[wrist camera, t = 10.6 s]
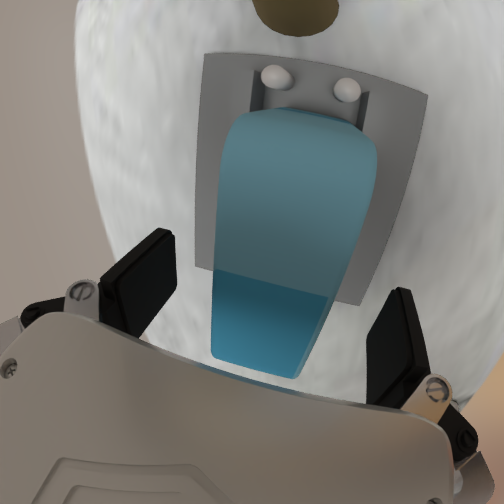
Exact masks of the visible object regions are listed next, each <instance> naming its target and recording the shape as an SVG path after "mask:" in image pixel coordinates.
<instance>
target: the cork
mask: <svg viewBox="0 0 504 504" xmlns="http://www.w3.org/2000/svg"><path fill="white" fill-rule="evenodd" d="M252 2H253V4H254V7H255V9H256V12H257V14H258V16H259V17H260V19H261V20H262V22H263V23H264V24H265V25H267V26H268V27H269V28H271V29H272V30H274V31H276V32H279V33H281V34H284V35H289V36H296V37H301V36H311V35H314V34H317V33H319V32H322V31H324V30H325V29H326V28H328V27H329V26H330V25H332V24H333V22H334V20H335V19H336V17H337V16H338V9H339V4H338V0H252Z"/></svg>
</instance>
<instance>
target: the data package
mask: <svg viewBox="0 0 504 504" xmlns="http://www.w3.org/2000/svg"><path fill="white" fill-rule="evenodd" d="M376 172H377V151H376V147H375V144H374V143H373V141H372V140H371V139H369V138H368V137H367V136H366V135H365V134H364V133H362V132H361V131H360V130H359V129H357V128H356V127H355V126H354V125H353V124H351V123H350V122H349V121H347V120H343V119H339V118H335V117H331V116H326V115H322V114H318V113H313V112H308V111H303V110H298V109H293V108H287V107H280V108H273V109H266V110H260V111H254V112H248V113H244V114H242V115H240V116H239V117H238V118H237V119H236V120H235V121H234V123H233V124H232V126H231V128H230V130H229V132H228V135H227V138H226V141H225V144H224V148H223V152H222V157H221V163H220V172H219V185H218V198H217V212H216V228H215V245H214V265H213V288H212V319H211V353H212V356H213V357H214V358H216V359H220V360H223V361H226V362H229V363H233V364H236V365H240V366H243V367H247V368H250V369H254V370H258V371H261V372H265V373H269V374H273V375H277V376H281V377H286V378H290V379H295V378H297V377H298V376H299V374H300V372H301V370H302V369H303V367H304V365H305V363H306V361H307V359H308V357H309V354H310V352H311V350H312V348H313V346H314V344H315V342H316V340H317V338H318V336H319V334H320V331H321V329H322V327H323V325H324V323H325V320H326V318H327V316H328V314H329V311H330V309H331V307H332V304H333V302H334V300H335V297H336V295H337V292H338V290H339V288H340V285H341V283H342V280H343V278H344V275H345V273H346V270H347V267H348V265H349V262H350V260H351V257H352V254H353V251H354V249H355V246H356V243H357V240H358V238H359V235H360V232H361V229H362V226H363V223H364V220H365V217H366V214H367V211H368V208H369V205H370V201H371V198H372V194H373V190H374V185H375V179H376Z"/></svg>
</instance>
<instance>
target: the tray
mask: <svg viewBox="0 0 504 504" xmlns="http://www.w3.org/2000/svg"><path fill="white" fill-rule="evenodd" d="M427 99H428V95H427V94H424V93H422V92H419V91H417V90H414V89H412V88H409V87H406V86H403V85H401V84H398V83H395V82H392V81H389V80H386V79H383V78H379V77H376V76H373V75H369V74H366V73H362V72H358V71H354V70H350V69H346V68H342V67H337V66H333V65H328V64H323V63H317V62H312V61H306V60H299V59H292V58H284V57H275V56H265V55H251V54H205V55H204V64H203V74H202V84H201V95H200V108H199V122H198V138H197V158H196V185H195V266H196V267H199V268H203V269H207V270H211V271H213V265H214V245H215V228H216V212H217V198H218V185H219V172H220V163H221V157H222V152H223V148H224V144H225V141H226V138H227V135H228V132H229V130H230V128H231V126H232V124H233V123H234V121H235V120H236V119H237V118H238V117H239V116H240V115H242V114H244V113H248V112H254V111H260V110H266V109H273V108H280V107H287V108H293V109H298V110H303V111H308V112H313V113H318V114H322V115H326V116H331V117H335V118H339V119H343V120H347V121H349V122H350V123H351V124H353V125H354V126H355V127H356V128H357V129H359V130H360V131H361V132H362V133H364V134H365V135H366V136H367V137H368V138H369V139H371V140H372V141H373V143H374V144H375V147H376V151H377V172H376V179H375V185H374V190H373V194H372V198H371V201H370V205H369V208H368V211H367V214H366V217H365V220H364V223H363V226H362V229H361V232H360V235H359V238H358V240H357V243H356V246H355V249H354V251H353V254H352V257H351V260H350V262H349V265H348V267H347V270H346V273H345V275H344V278H343V280H342V283H341V285H340V288H339V290H338V292H337V295H336V297H335V300H334V301H338V302H343V303H347V304H352V305H356V306H359V305H360V303H361V301H362V299H363V297H364V295H365V293H366V291H367V288H368V286H369V284H370V282H371V280H372V277H373V275H374V273H375V270H376V268H377V266H378V263H379V261H380V258H381V256H382V254H383V251H384V249H385V246H386V244H387V241H388V238H389V236H390V233H391V230H392V228H393V225H394V222H395V219H396V217H397V214H398V211H399V208H400V205H401V202H402V199H403V196H404V193H405V189H406V186H407V183H408V179H409V176H410V173H411V169H412V166H413V162H414V158H415V154H416V150H417V146H418V142H419V138H420V134H421V129H422V125H423V120H424V115H425V110H426V105H427Z"/></svg>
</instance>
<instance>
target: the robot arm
mask: <svg viewBox="0 0 504 504" xmlns="http://www.w3.org/2000/svg"><path fill="white" fill-rule="evenodd" d="M176 287H177V272H176V253H175V236H174V235H173V234H172V232H171V231H170V230H167V229H163V228H157V229H156V230H155V231H153V232H152V233H151V234H150V235H148V236H147V237H146V238H145V239H144V240H142V241H141V242H140V243H139V244H138V245H137V246H135V247H134V248H133V249H132V250H131V251H130V252H128V253H127V254H126V255H125V256H124V257H123V258H122V259H120V260H119V261H118V262H117V263H116V264H115V265H114V266H113V267H111V268H110V269H109V270H108V271H107V272H106V273H105V274H104V275H103V276H102V277H101V278H100V282H99V283H98V284H97V283H96V282H94V281H92V280H88V279H87V280H80V281H77V282H75V283H73V284H72V285H71V286H70V287H69V288H68V289H67V292H66V296H65V297H61V298H56V299H51V300H47V301H41V302H37V303H33V304H31V305H29V306H27V307H26V308H25V309H24V310H23V312H22V314H21V317H20V318H18V316H16V317H14V318H12V319H10V320H8V321H6V322H4V323H1V324H0V504H486V503H487V502H488V501H489V499H490V498H491V497H492V495H493V492H494V487H495V484H494V480H493V478H492V475H491V473H490V471H489V469H488V466H487V464H486V462H485V460H484V458H483V456H482V454H481V451H478V452H477V451H476V449H477V446H478V435H477V432H476V431H475V429H474V428H473V427H472V426H471V425H470V424H469V422H468V421H467V420H466V419H465V418H464V417H463V416H462V415H461V414H460V413H459V412H458V411H459V408H458V404H457V403H456V402H454V401H451V399H452V389H451V386H450V384H449V382H448V381H447V380H446V379H445V378H444V377H442V376H441V375H438V374H431V371H430V366H429V361H428V356H427V351H426V346H425V341H424V337H423V333H422V329H421V326H420V322H419V318H418V314H417V310H416V307H415V303H414V300H413V296H412V293H411V290H409V289H405V288H401V287H397V288H396V289H395V290H394V289H393V290H391V292H390V294H389V296H388V298H387V300H386V302H385V304H384V306H383V308H382V310H381V311H380V313H379V315H378V317H377V319H376V321H375V322H374V324H373V326H372V328H371V329H370V331H369V333H368V335H367V339H366V353H367V394H366V404H363V403H356V402H350V401H345V400H339V399H334V398H328V397H323V396H318V395H313V394H308V393H304V392H299V391H295V390H291V389H286V388H282V387H278V386H274V385H271V384H267V383H263V382H259V381H256V380H252V379H249V378H245V377H242V376H239V375H235V374H232V373H229V372H226V371H223V370H219V369H216V368H213V367H210V366H208V365H205V364H202V363H199V362H196V361H193V360H191V359H188V358H185V357H182V356H180V355H177V354H174V353H172V352H169V351H167V350H164V349H162V348H159V347H157V346H154V345H152V344H150V343H147V342H145V341H142V340H140V339H139V337H140V336H141V335H142V333H143V332H144V331H145V329H146V328H147V327H148V325H149V324H150V323H151V321H152V320H153V319H154V317H155V316H156V315H157V313H158V312H159V311H160V310H161V308H162V307H163V306H164V304H165V303H166V302H167V300H168V299H169V298H170V297H171V295H172V294H173V293H174V291H175V290H176Z"/></svg>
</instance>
